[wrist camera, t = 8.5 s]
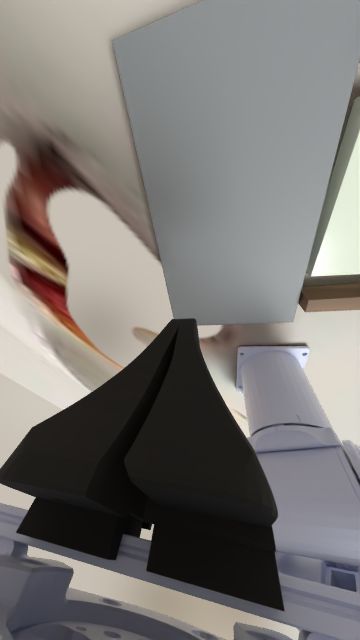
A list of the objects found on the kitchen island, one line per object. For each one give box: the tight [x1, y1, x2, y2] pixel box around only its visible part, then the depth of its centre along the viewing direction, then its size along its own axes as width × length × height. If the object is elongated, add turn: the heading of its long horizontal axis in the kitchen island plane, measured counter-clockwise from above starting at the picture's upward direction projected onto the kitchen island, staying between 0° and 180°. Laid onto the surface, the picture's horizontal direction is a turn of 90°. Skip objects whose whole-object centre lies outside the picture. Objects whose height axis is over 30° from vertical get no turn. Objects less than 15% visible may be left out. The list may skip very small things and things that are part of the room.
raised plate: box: [112, 0, 360, 325], centre depth 14 cm, size 19×12×2 cm, turn 9°
